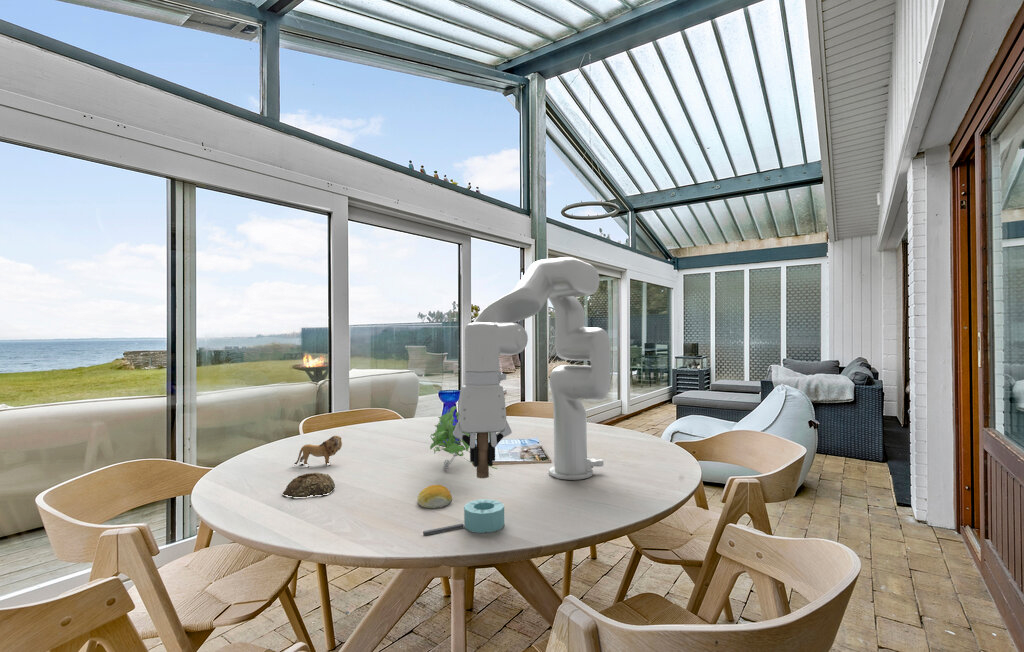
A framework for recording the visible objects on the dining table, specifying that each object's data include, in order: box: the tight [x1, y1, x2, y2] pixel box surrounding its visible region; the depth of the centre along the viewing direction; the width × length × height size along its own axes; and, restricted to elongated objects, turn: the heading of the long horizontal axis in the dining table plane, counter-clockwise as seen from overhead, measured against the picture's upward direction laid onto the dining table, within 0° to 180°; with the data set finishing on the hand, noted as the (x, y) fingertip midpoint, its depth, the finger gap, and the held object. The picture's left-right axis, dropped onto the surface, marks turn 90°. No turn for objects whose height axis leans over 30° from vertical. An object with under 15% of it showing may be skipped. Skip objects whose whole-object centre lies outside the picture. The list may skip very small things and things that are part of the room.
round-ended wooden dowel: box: [476, 433, 490, 479], centre depth 105 cm, size 3×3×12 cm
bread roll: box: [417, 484, 453, 509], centre depth 120 cm, size 8×9×4 cm
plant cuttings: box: [429, 405, 498, 476], centre depth 148 cm, size 35×17×22 cm
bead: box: [463, 498, 505, 534], centre depth 105 cm, size 8×8×4 cm
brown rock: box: [282, 472, 336, 497], centre depth 130 cm, size 13×12×5 cm
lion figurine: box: [293, 435, 343, 465], centre depth 155 cm, size 15×5×9 cm, turn 106°
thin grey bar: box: [422, 523, 465, 536], centre depth 102 cm, size 9×1×1 cm, turn 117°
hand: (482, 464), depth 105 cm, fingers closed on round-ended wooden dowel, 2 cm apart
